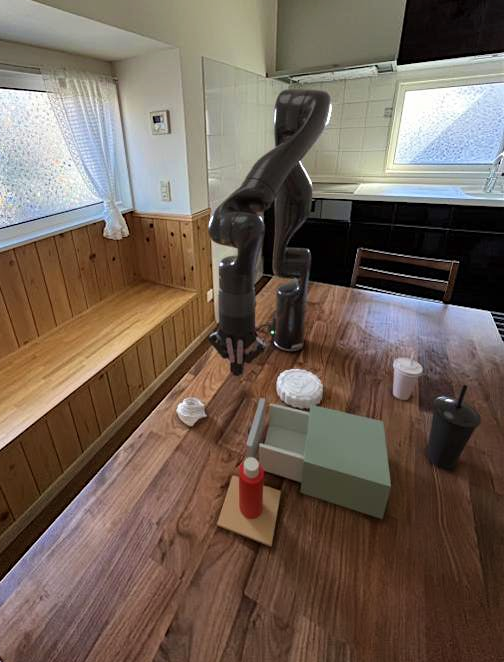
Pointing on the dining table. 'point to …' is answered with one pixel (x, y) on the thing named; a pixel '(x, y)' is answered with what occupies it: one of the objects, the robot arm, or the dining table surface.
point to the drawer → (279, 440)
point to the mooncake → (299, 388)
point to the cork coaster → (250, 528)
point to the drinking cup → (451, 429)
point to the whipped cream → (191, 411)
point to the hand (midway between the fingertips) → (237, 373)
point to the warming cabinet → (346, 461)
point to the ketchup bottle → (251, 488)
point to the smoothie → (405, 376)
